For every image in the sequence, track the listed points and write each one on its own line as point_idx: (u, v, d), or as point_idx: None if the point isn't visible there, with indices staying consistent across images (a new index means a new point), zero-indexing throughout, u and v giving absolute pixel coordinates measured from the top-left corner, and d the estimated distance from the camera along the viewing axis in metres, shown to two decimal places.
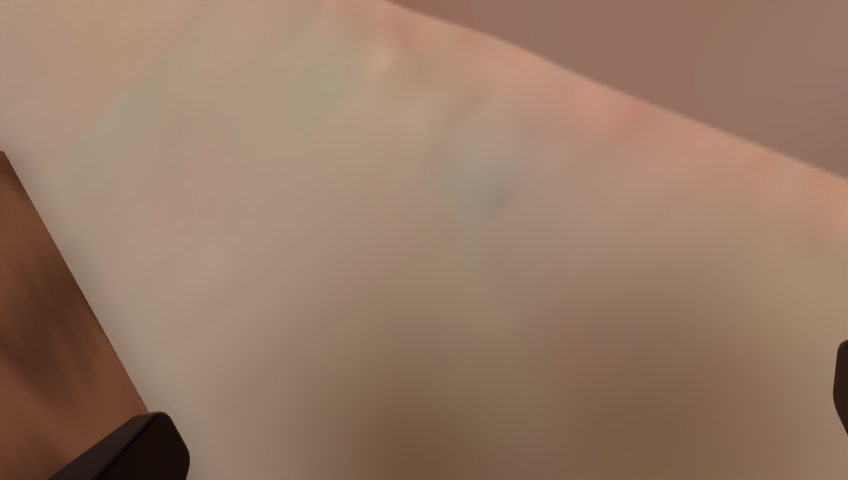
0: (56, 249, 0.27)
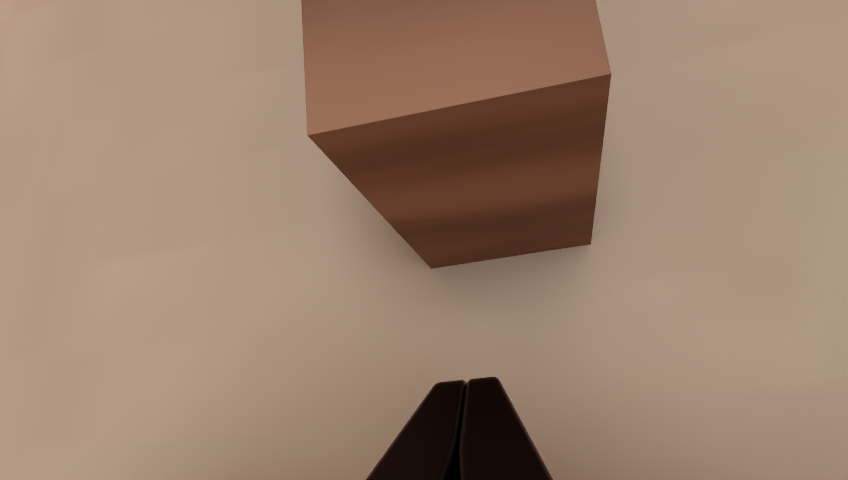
0: None
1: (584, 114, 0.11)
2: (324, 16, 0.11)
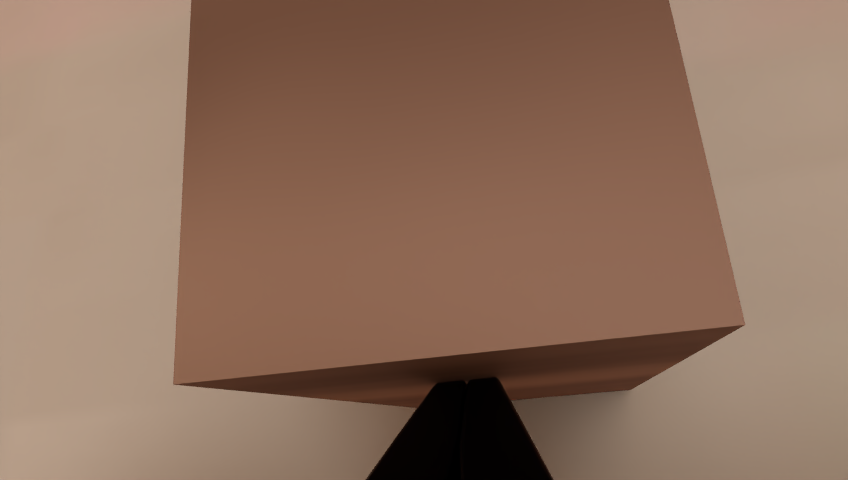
0: None
1: (672, 347, 0.06)
2: (220, 156, 0.06)
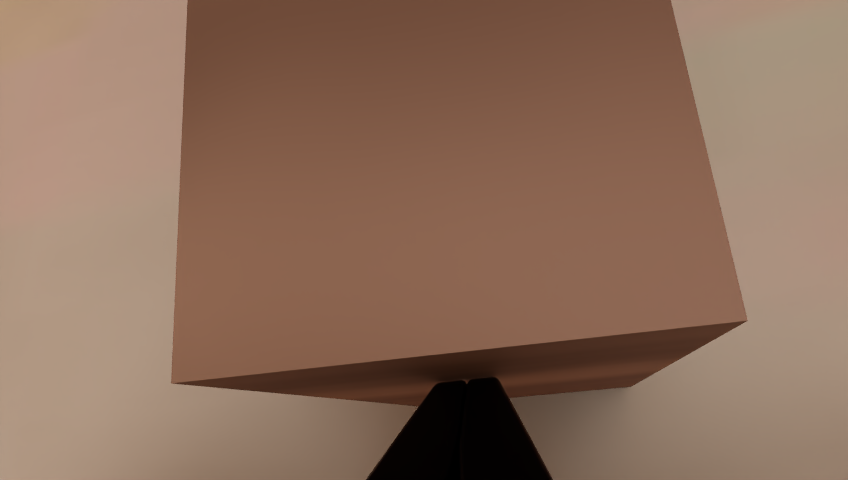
0: None
1: (674, 344, 0.06)
2: (217, 153, 0.06)
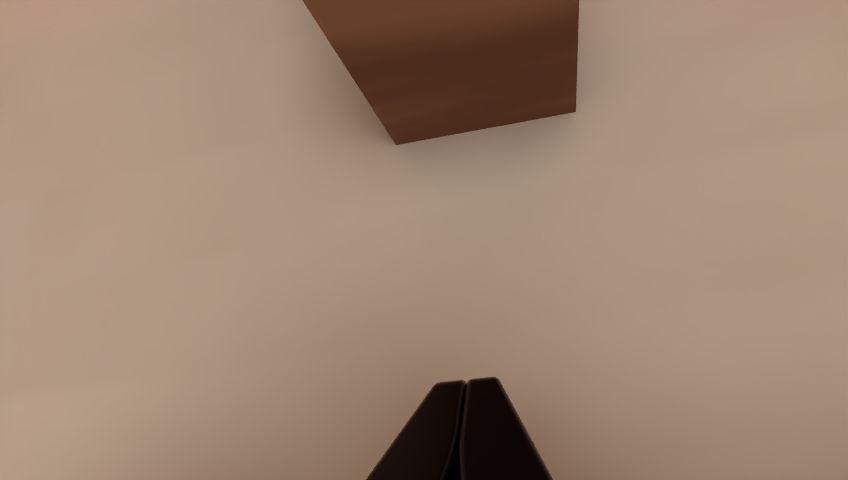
0: None
1: None
2: None
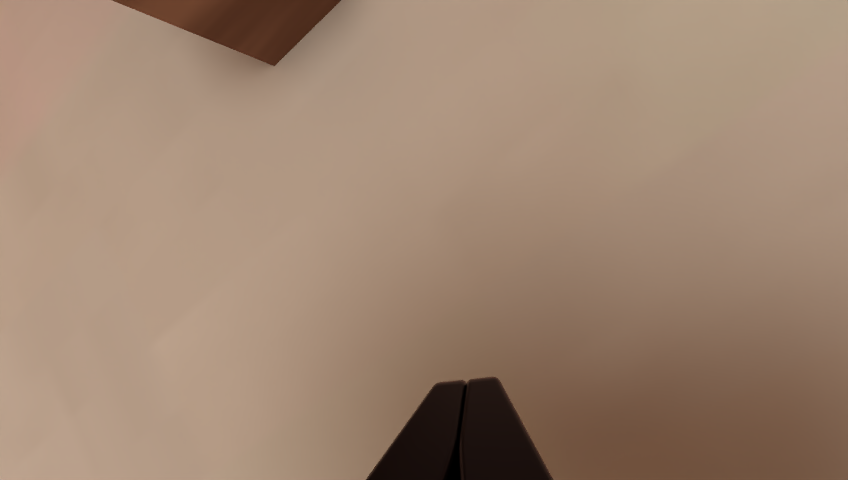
0: None
1: None
2: None
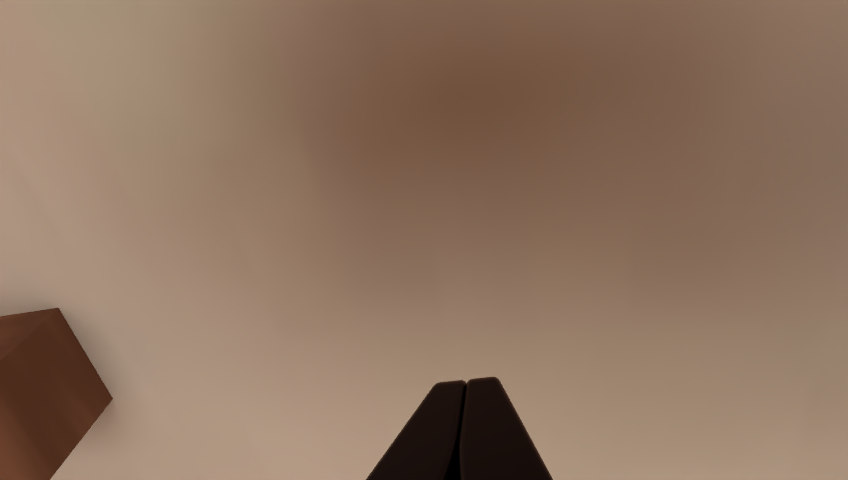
0: None
1: None
2: None
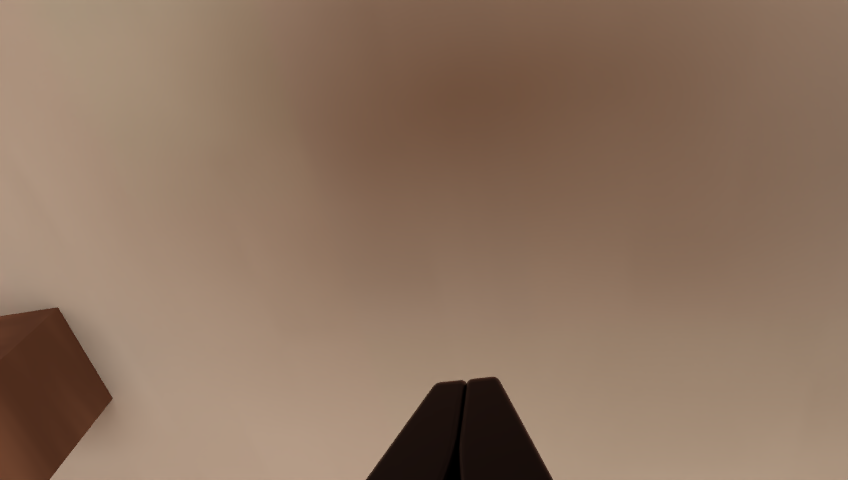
0: None
1: None
2: None
